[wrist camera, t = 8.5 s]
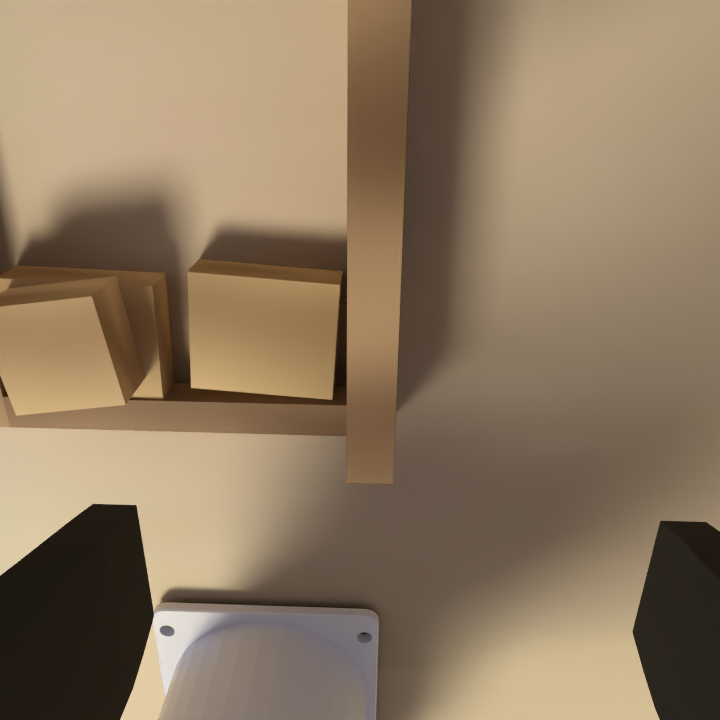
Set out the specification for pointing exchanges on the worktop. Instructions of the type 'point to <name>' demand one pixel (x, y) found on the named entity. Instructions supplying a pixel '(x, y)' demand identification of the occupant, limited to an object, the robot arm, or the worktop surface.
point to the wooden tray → (364, 284)
